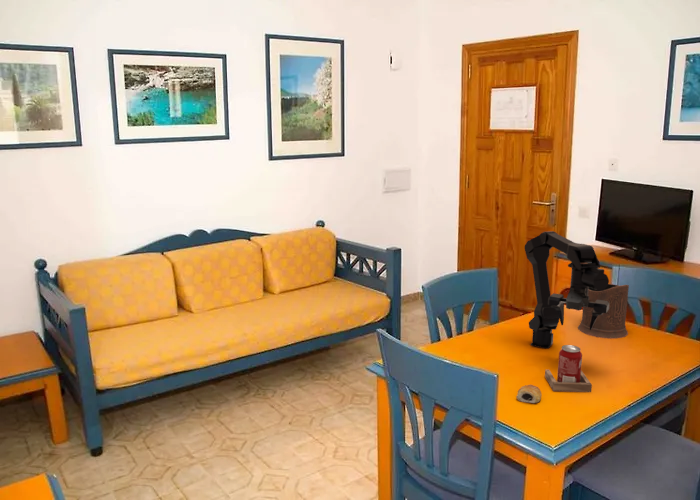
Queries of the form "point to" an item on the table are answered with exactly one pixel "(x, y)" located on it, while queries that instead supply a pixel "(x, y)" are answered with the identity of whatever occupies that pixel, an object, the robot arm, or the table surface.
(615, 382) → the table surface
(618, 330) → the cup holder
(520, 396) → the pastry
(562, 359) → the soda can
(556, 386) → the frame
